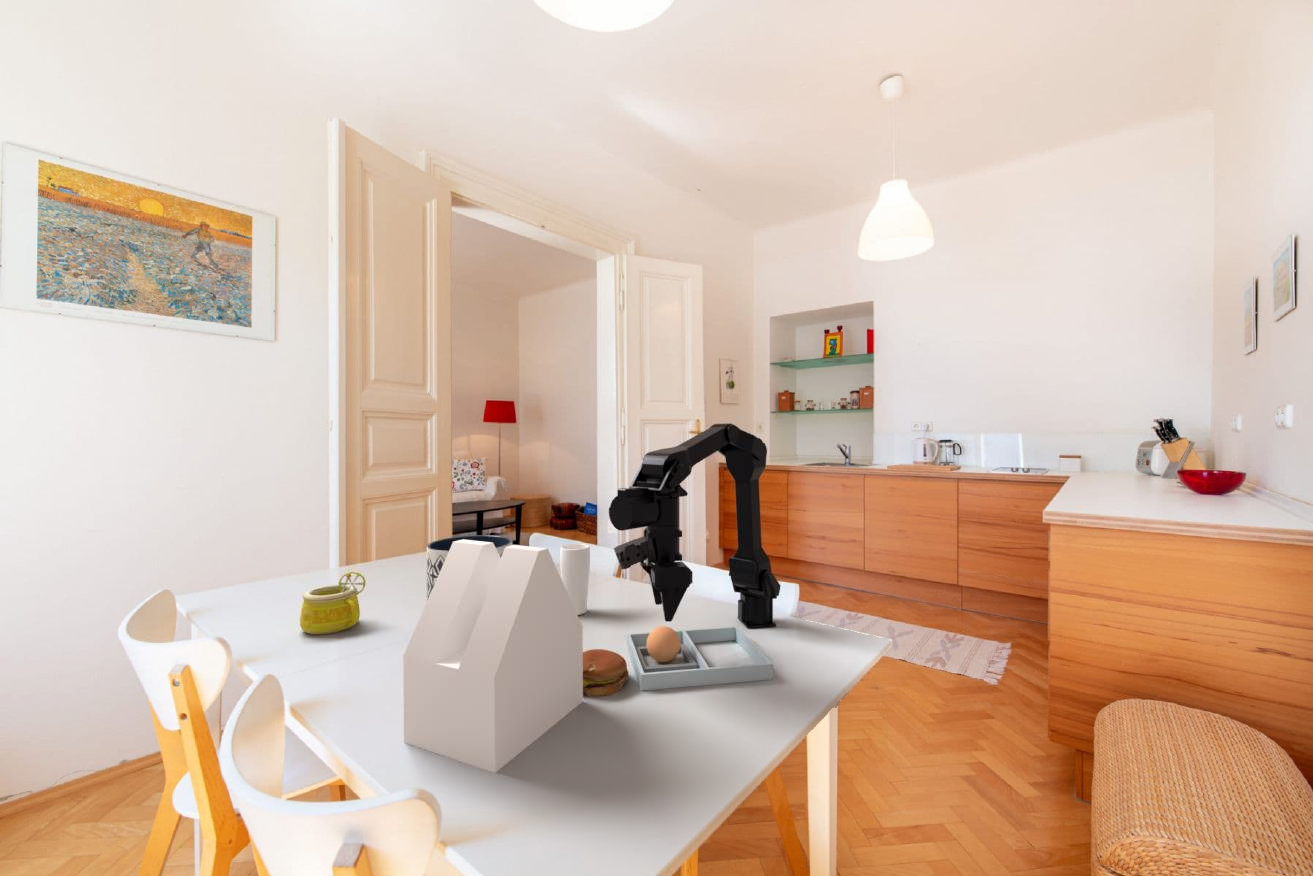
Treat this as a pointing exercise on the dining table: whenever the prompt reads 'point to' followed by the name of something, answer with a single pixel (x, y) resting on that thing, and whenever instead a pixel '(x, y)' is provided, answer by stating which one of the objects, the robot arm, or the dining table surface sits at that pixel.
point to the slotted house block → (492, 655)
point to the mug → (331, 607)
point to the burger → (603, 672)
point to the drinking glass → (576, 573)
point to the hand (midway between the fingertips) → (663, 612)
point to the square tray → (678, 663)
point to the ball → (663, 644)
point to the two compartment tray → (701, 661)
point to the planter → (440, 550)
